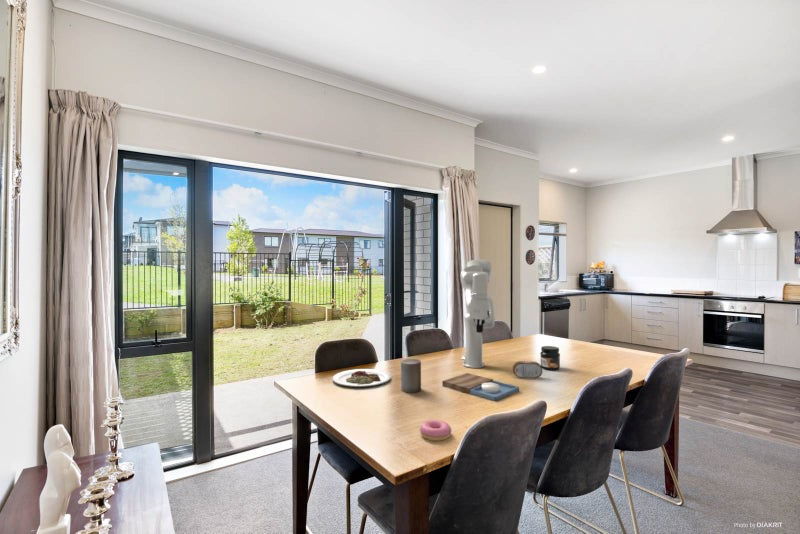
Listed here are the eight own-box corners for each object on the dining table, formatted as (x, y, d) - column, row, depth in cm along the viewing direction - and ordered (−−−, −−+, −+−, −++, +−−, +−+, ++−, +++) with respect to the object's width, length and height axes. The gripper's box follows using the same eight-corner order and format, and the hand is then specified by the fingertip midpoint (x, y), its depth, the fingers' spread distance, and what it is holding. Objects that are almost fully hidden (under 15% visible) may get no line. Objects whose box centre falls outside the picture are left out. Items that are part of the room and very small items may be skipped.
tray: (469, 393, 179) (469, 389, 179) (493, 384, 193) (493, 380, 193) (495, 401, 169) (495, 396, 169) (518, 391, 183) (518, 386, 183)
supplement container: (541, 370, 219) (541, 349, 219) (539, 365, 229) (539, 345, 229) (561, 371, 216) (561, 350, 216) (558, 366, 227) (558, 346, 227)
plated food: (354, 393, 181) (354, 386, 181) (321, 379, 204) (321, 373, 204) (402, 380, 201) (402, 374, 201) (367, 369, 223) (367, 363, 223)
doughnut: (418, 429, 141) (418, 418, 141) (448, 428, 142) (448, 417, 142) (421, 443, 130) (421, 431, 130) (454, 442, 131) (454, 430, 131)
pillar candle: (424, 388, 188) (423, 357, 188) (416, 394, 180) (416, 361, 179) (405, 385, 192) (405, 355, 192) (397, 391, 184) (397, 359, 183)
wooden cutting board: (442, 386, 191) (442, 380, 191) (467, 377, 205) (467, 373, 205) (469, 393, 180) (469, 388, 180) (493, 384, 193) (493, 379, 193)
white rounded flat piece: (478, 390, 183) (478, 384, 183) (489, 386, 188) (488, 381, 188) (491, 394, 177) (491, 389, 177) (502, 390, 182) (502, 385, 182)
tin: (541, 377, 206) (541, 361, 206) (543, 379, 203) (543, 362, 203) (512, 376, 207) (512, 360, 207) (513, 378, 204) (513, 362, 204)
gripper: (463, 296, 203) (463, 331, 204) (488, 298, 192) (487, 335, 193) (472, 294, 208) (472, 328, 209) (496, 297, 197) (496, 333, 198)
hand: (479, 332), depth 201 cm, fingers closed
